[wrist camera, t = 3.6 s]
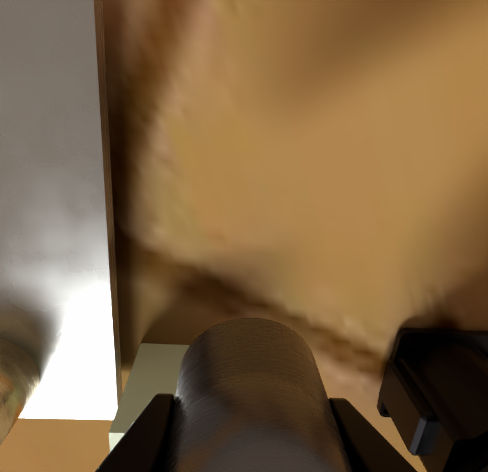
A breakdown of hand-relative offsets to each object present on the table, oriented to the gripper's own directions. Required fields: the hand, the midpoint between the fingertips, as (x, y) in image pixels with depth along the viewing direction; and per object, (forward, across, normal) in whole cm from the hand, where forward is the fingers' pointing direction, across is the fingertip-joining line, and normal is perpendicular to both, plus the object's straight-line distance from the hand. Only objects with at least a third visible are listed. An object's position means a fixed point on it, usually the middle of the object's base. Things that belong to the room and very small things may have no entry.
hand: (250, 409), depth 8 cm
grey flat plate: (+11, +12, 0) cm, 16 cm away
